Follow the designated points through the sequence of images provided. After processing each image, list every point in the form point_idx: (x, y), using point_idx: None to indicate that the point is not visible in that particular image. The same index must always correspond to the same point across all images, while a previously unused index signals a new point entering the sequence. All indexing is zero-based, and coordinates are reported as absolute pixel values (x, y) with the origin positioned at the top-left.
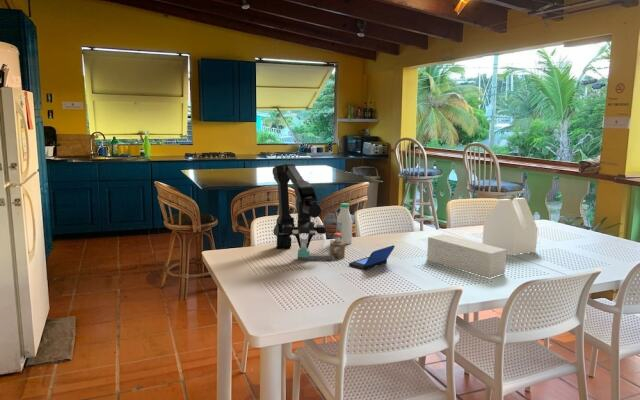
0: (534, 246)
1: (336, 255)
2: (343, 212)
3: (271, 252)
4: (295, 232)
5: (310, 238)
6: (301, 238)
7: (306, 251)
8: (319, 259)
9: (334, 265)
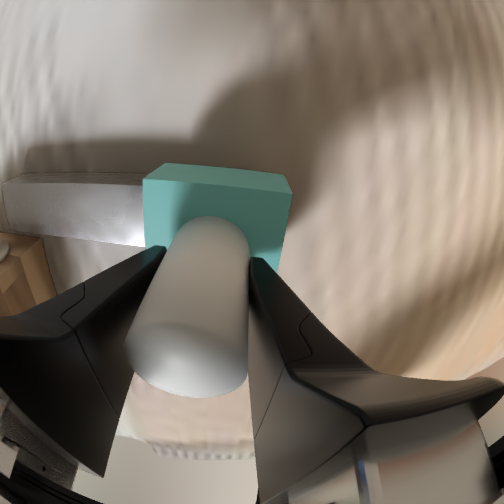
0: None
1: (12, 241)
2: None
3: (392, 355)
4: (443, 470)
5: (43, 311)
6: (230, 383)
7: (180, 180)
8: (93, 174)
9: (26, 59)
